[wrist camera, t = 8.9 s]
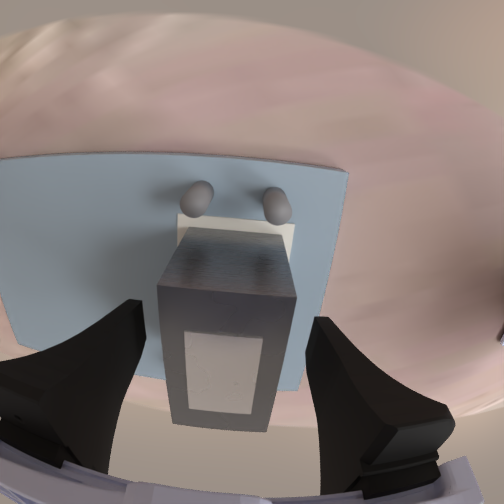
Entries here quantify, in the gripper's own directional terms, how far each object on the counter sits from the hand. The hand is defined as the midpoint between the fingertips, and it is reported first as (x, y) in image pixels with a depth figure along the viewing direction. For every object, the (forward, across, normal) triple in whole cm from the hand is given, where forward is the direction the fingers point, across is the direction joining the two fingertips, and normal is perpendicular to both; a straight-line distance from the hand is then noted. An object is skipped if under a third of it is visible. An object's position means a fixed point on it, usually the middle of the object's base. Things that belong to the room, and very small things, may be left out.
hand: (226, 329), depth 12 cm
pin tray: (+3, +6, 0) cm, 6 cm away
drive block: (+2, 0, 0) cm, 2 cm away
